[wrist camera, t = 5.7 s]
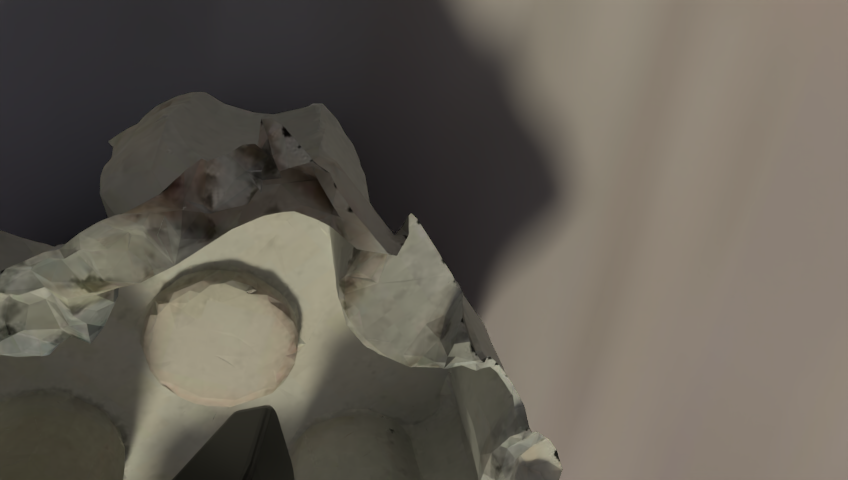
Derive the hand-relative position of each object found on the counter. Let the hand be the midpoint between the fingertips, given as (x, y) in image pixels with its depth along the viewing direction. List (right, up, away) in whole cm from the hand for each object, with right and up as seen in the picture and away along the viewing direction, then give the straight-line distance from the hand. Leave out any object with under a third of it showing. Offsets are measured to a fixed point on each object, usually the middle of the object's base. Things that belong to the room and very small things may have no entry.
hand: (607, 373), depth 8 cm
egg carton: (-9, +1, +4) cm, 10 cm away
